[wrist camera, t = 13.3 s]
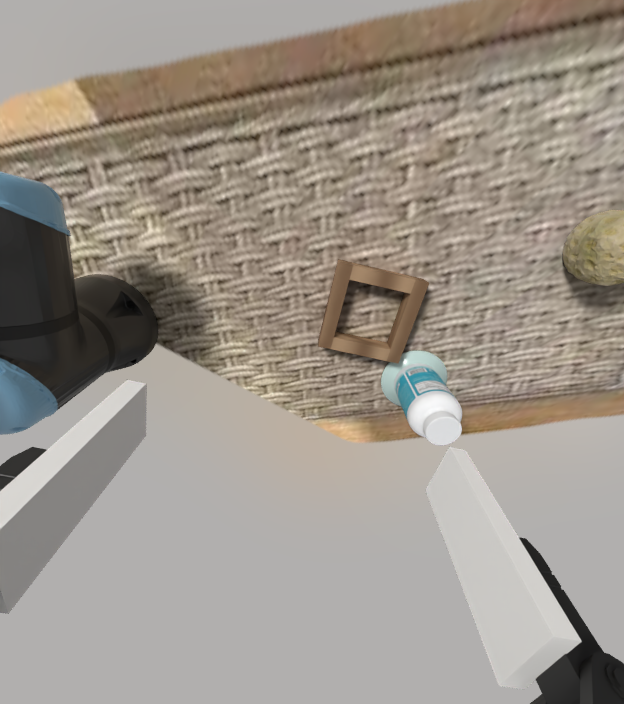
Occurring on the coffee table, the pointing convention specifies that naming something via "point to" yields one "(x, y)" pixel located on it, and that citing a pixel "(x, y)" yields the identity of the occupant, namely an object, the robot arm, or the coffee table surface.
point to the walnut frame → (402, 323)
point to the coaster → (407, 359)
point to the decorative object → (597, 249)
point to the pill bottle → (428, 404)
